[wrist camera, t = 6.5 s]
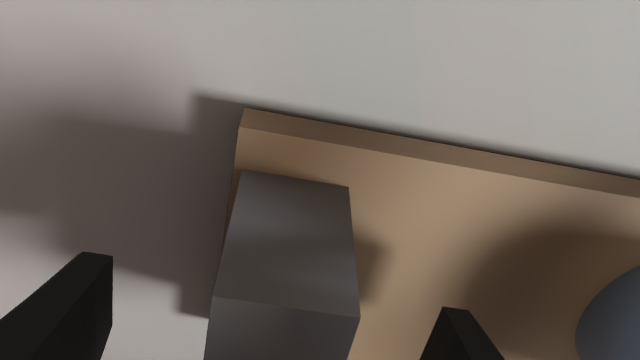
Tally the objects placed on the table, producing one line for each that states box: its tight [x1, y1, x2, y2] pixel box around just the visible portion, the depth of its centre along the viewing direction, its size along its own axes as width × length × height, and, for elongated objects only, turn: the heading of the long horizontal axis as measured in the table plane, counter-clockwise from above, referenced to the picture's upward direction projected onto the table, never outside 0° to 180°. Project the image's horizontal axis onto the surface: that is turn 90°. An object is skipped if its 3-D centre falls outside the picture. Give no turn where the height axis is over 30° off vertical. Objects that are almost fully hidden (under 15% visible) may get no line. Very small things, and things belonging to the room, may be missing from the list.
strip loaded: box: [204, 108, 640, 360], centre depth 13 cm, size 16×7×5 cm, turn 79°
